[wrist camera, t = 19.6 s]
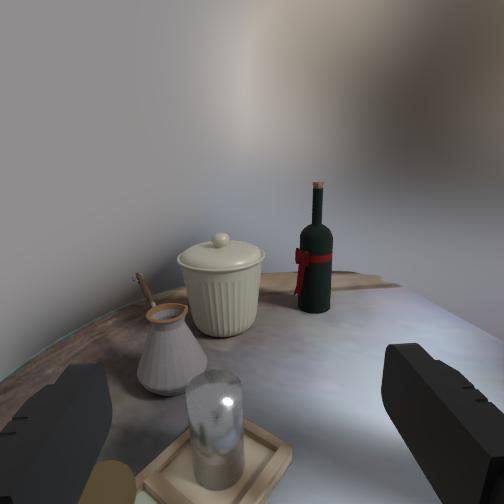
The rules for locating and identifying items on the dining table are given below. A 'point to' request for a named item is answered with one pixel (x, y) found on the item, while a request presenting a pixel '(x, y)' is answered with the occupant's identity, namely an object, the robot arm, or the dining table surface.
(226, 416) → the clear glass tumbler
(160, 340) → the coffee pot
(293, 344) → the dining table surface
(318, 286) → the wine bottle
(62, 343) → the dining table surface
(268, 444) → the wooden tray
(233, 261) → the canister
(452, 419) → the robot arm
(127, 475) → the olive brown pepper mill
